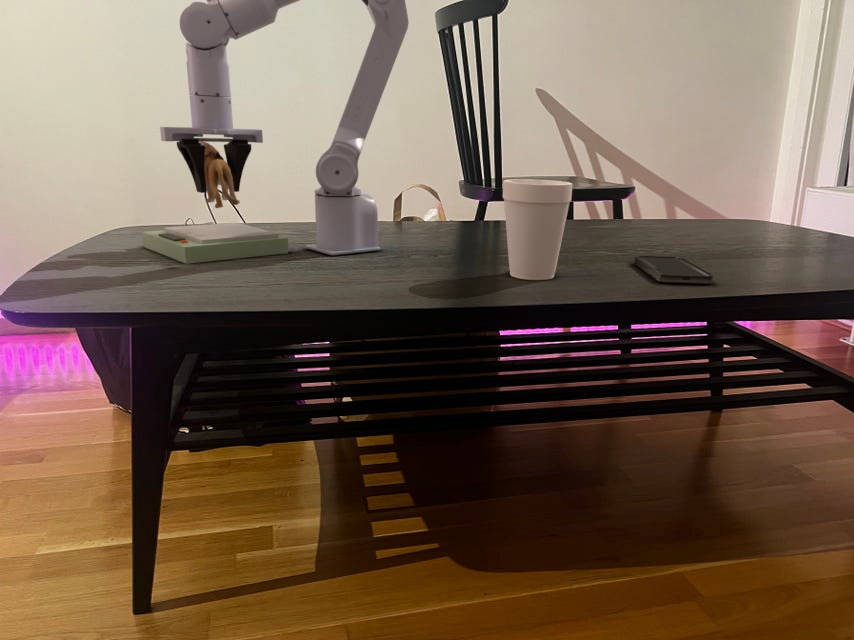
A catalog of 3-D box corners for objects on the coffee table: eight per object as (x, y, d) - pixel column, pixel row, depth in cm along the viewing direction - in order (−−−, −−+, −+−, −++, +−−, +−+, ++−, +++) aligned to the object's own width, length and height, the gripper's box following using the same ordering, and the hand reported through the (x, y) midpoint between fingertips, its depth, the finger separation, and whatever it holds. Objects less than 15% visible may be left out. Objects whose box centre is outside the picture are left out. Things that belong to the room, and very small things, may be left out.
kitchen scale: (240, 239, 120) (239, 221, 119) (288, 253, 109) (287, 233, 108) (143, 247, 109) (141, 227, 108) (186, 263, 98) (184, 242, 97)
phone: (681, 257, 112) (715, 276, 98) (680, 264, 113) (714, 284, 99) (632, 255, 112) (660, 274, 98) (632, 262, 112) (659, 282, 98)
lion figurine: (189, 201, 111) (178, 142, 108) (223, 197, 114) (213, 139, 111) (220, 210, 100) (209, 145, 97) (256, 206, 103) (246, 142, 100)
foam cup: (557, 285, 95) (564, 186, 90) (491, 278, 97) (496, 182, 93) (569, 272, 103) (576, 181, 99) (509, 266, 106) (513, 178, 101)
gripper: (168, 93, 95) (178, 195, 99) (269, 99, 104) (274, 192, 108) (151, 94, 100) (161, 191, 104) (249, 99, 109) (255, 188, 113)
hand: (218, 191), depth 107 cm, fingers closed on lion figurine, 4 cm apart
